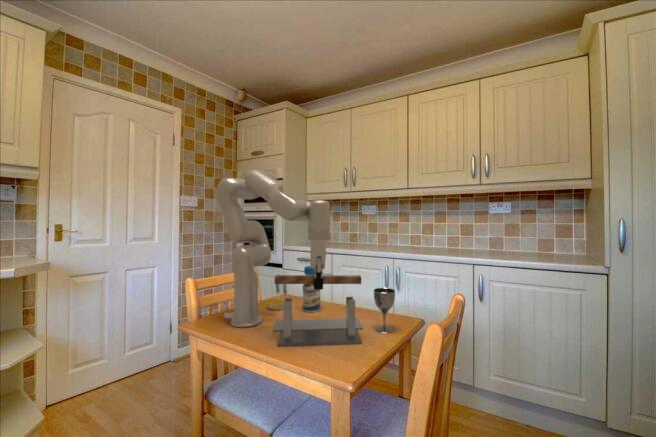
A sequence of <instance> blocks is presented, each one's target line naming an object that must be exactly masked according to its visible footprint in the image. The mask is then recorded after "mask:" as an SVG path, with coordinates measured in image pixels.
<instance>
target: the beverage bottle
mask: <svg viewBox="0 0 656 437" xmlns="http://www.w3.org/2000/svg"><path fill="white" fill-rule="evenodd" d="M303 272H304V275H314V268H313V269H311V267H310V265H308V266H307V265H306V266H305V267H304V271H303ZM321 306H322V305H321V290H315V289H314V286H313V284H302V310H303V311H304V312H307V313H316V312H317V313H318V312H319V311H320V310H321Z"/></svg>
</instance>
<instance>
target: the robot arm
mask: <svg viewBox="0 0 656 437" xmlns="http://www.w3.org/2000/svg"><path fill="white" fill-rule="evenodd" d="M216 186H217V187H216V191H215V199H216V201H217V204H218V207H219V208H220V211H221V213H222V216H223V219H224V223H225V227H226V231H227V233H228V237H229V239H230V241H231V242H232V243H234V244H242V245H240V246H237V247H236V248H234V249H233V251H232V252H231V263H232V269H233V280H234V281H233V283H234V284H233V293H234V295H233V298H234V299H233V300H234V301H233V302H234V303H233V305H234V306H233V310H234V311H231V312H223V318H225V320H228V319H230V321H229V322H230V325H231V326H232V327H235V328H251V327H255V326H258V325H260V324H261V323H262V322H263V317H262V316H261V315H259V275H258V274H257V272H256V269H255V268H256V267H257V268H258V267H261V266H264V265H268V263H270V261H271V258H272V250H271V247H270V243H269V240H268V236H267V234H266V230H265V228H264V226H263V225H262V224H261V223H260V222H259V221H257V220H248V219H247V217H246V214H245V211H244V209H243V206H242V205H241V204H240V203H239V202H238V201H237V199H240V200H254V199H257V198H260V197H261V198H262V199H264V200H265V201H266V202H267V205H268V207H269V209H270V210H272V212H274V213H275V214H277V216H279V217H281V218H283V219H284V220H287V221H290V222H307V221H308V222H307V223H308V224H307V225H308V227H307V228H308V232H307V240H308V241H310V257H309V258H310V260H309V264H310V265H309V266H310V267H311V269H313V268H314V275H315V278H314V284H313V286H314V289H315V290H320V291H321V290H323V289H324V284H323V275H324V274H323V273H324V272H323V271H324V270H325V268H326V258H327V257H326V256H327V241H330V228H331V227H330V223H331V221H330V220H331V204H330V202H329V201H328V200H322V199H321V200H319V199H318V200H316V199H315V200H311V201H310V200H305V199H304V200H303V199H293V198H291V197H289V196H287V195H286V194H284V186H283V184H282V183H281V182H279V181H278V179H277V176H276V175H275V174H274V173H273V172H270V171H266V170H261V169H251V170H248V171H247V172H246V173H245V174H244V176H243V179H242V178H237V177H225V178H223V179H221V180H219V182H218V184H217V185H216ZM247 243H249V244H247Z"/></svg>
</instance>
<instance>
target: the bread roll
mask: <svg viewBox="0 0 656 437" xmlns="http://www.w3.org/2000/svg"><path fill="white" fill-rule="evenodd" d="M284 302H285V300H282V299H279V300H278V299H271V300H269V301H268V302H267V304H266V309H267V310H269V311H271V310H272V311H282V310H284Z"/></svg>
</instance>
